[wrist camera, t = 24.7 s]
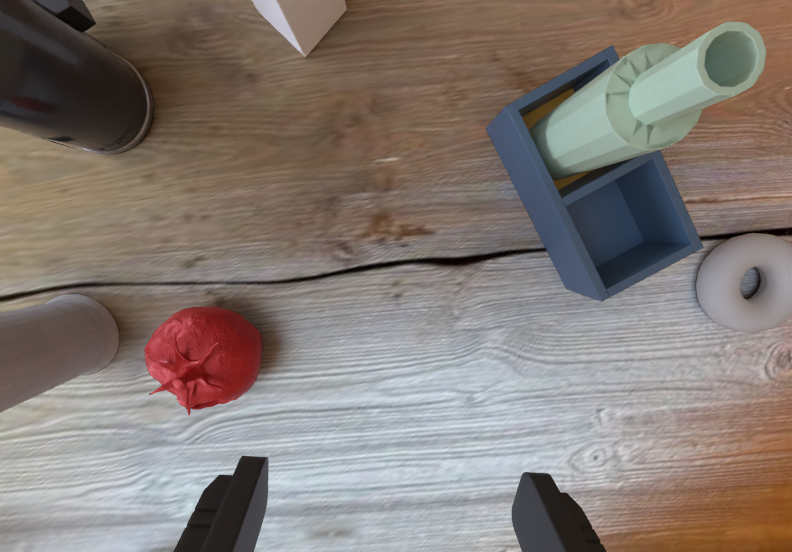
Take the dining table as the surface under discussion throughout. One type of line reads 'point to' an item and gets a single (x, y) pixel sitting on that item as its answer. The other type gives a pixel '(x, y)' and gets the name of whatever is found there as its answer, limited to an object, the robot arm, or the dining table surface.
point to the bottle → (648, 100)
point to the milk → (301, 19)
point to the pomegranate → (204, 356)
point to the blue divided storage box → (594, 198)
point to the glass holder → (53, 345)
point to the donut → (721, 277)
